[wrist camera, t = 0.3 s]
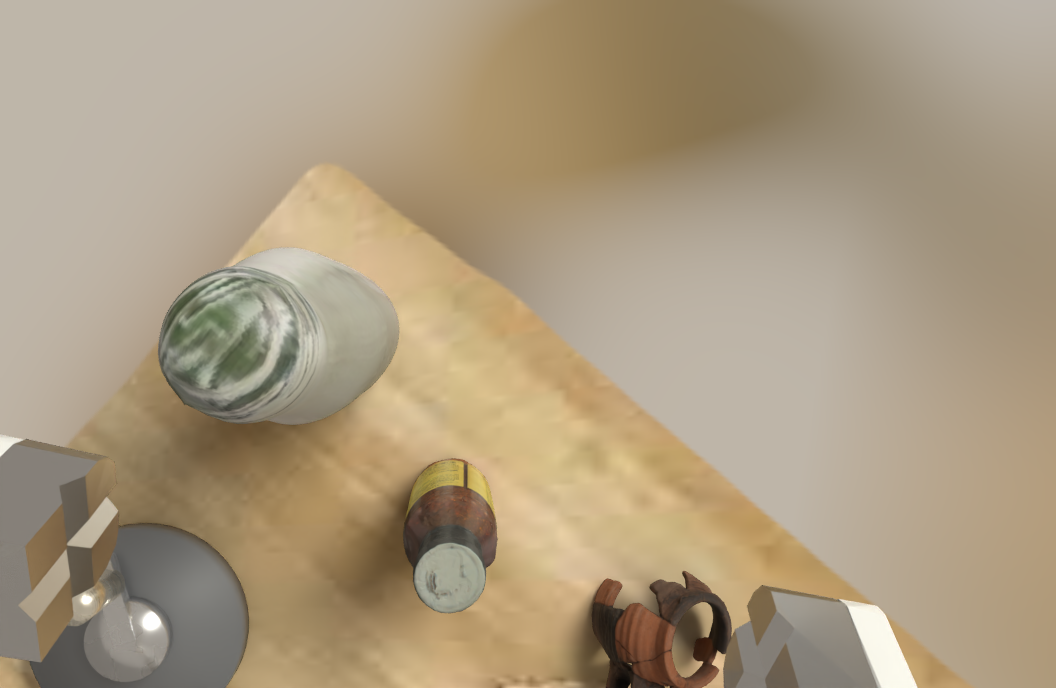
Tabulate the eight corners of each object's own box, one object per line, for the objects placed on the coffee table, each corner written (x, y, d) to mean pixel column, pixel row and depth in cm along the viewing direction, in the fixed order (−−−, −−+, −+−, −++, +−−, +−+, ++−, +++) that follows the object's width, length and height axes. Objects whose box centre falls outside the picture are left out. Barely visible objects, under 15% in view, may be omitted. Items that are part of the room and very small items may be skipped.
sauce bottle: (400, 515, 63) (362, 607, 43) (431, 443, 63) (406, 502, 43) (477, 545, 64) (473, 650, 44) (507, 474, 64) (517, 546, 44)
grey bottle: (317, 242, 62) (180, 184, 34) (429, 312, 63) (385, 310, 35) (250, 350, 62) (59, 379, 34) (363, 418, 63) (265, 501, 35)
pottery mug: (609, 539, 65) (681, 565, 58) (682, 577, 70) (757, 605, 63) (551, 684, 62) (620, 729, 55) (631, 713, 67) (704, 758, 60)
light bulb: (182, 661, 60) (149, 699, 55) (105, 684, 60) (63, 725, 54) (145, 543, 60) (108, 568, 54) (67, 565, 60) (21, 593, 54)
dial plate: (273, 690, 63) (265, 704, 61) (75, 749, 63) (60, 765, 60) (215, 498, 62) (205, 505, 60) (14, 556, 62) (-5, 565, 59)
